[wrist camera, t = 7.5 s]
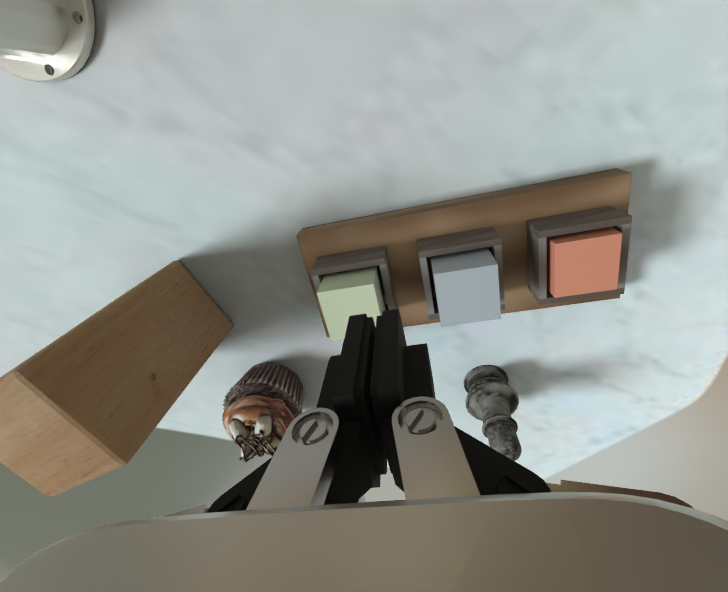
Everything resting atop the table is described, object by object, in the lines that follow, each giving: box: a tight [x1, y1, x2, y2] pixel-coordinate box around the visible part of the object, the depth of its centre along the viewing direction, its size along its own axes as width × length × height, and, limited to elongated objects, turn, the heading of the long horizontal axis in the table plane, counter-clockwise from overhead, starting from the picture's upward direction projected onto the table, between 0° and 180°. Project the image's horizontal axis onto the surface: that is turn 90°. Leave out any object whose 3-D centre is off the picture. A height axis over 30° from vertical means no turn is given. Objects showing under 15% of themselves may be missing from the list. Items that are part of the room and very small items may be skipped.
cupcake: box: [223, 363, 303, 462], centre depth 45 cm, size 10×10×10 cm
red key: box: [546, 227, 622, 298], centre depth 33 cm, size 5×5×4 cm
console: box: [297, 169, 632, 337], centre depth 36 cm, size 12×30×6 cm, turn 102°
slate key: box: [431, 247, 501, 326], centre depth 32 cm, size 5×5×4 cm
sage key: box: [317, 266, 386, 341], centre depth 34 cm, size 5×5×4 cm
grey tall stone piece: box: [464, 365, 521, 461], centre depth 40 cm, size 6×6×12 cm
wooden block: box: [0, 261, 233, 497], centre depth 36 cm, size 10×10×20 cm
